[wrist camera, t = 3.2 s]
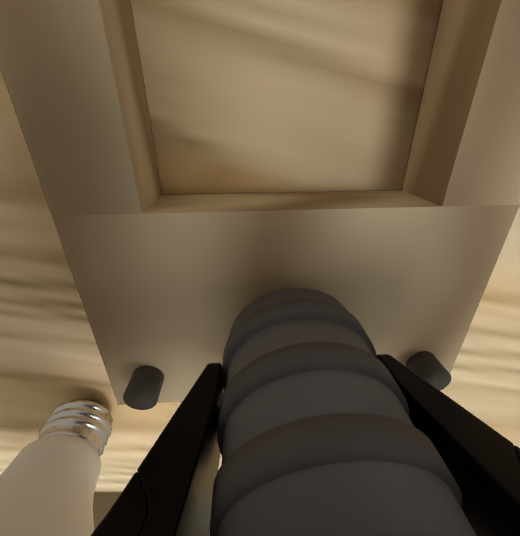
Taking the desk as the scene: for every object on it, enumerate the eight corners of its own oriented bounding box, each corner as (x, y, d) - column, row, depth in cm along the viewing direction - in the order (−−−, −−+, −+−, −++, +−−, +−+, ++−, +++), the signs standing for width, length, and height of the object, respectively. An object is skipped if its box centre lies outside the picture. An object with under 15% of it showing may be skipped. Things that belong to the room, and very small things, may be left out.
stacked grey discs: (368, 280, 9) (558, 513, 4) (348, 384, 11) (448, 627, 6) (219, 286, 9) (185, 544, 3) (228, 391, 11) (215, 651, 5)
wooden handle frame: (565, -129, 7) (912, -398, 4) (414, 347, 14) (475, 424, 11) (-5, -151, 7) (-335, -521, 3) (137, 361, 14) (98, 449, 10)
